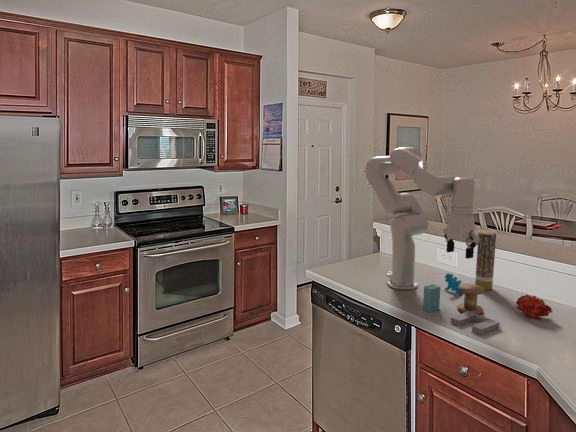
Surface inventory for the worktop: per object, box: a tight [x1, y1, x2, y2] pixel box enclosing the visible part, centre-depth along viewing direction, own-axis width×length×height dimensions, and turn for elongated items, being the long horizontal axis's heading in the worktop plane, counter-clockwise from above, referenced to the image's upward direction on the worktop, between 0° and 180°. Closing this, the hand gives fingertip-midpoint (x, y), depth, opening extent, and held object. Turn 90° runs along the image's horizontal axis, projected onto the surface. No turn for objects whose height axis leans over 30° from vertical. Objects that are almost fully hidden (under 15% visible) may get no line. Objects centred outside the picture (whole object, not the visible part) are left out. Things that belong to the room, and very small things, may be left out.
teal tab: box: [422, 284, 441, 313], centre depth 166 cm, size 4×5×9 cm
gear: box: [444, 272, 464, 295], centre depth 185 cm, size 11×6×10 cm
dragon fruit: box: [515, 294, 554, 321], centre depth 159 cm, size 8×8×12 cm
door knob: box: [456, 283, 486, 316], centre depth 165 cm, size 9×9×9 cm
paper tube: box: [474, 229, 497, 291], centre depth 187 cm, size 7×7×25 cm
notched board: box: [450, 311, 500, 336], centre depth 152 cm, size 12×10×2 cm
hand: (459, 254), depth 167 cm, fingers open, 9 cm apart
